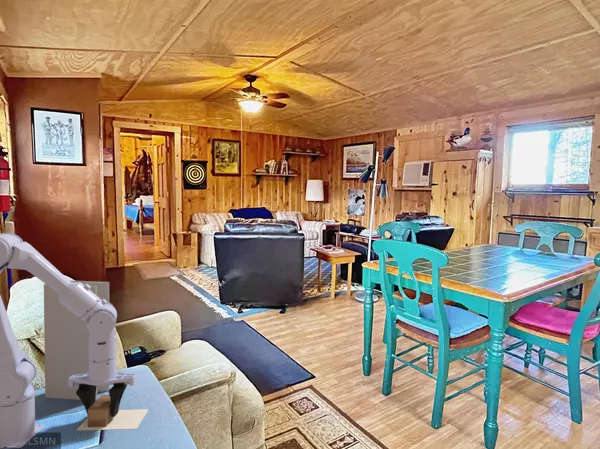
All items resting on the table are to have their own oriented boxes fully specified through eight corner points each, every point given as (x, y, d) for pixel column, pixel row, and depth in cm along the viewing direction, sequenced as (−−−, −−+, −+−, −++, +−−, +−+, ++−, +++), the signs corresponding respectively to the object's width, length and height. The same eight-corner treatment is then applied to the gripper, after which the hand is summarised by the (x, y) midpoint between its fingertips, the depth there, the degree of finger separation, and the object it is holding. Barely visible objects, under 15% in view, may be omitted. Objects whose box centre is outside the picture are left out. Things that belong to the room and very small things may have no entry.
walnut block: (106, 426, 83) (106, 409, 83) (87, 427, 83) (87, 409, 83) (118, 410, 90) (118, 394, 89) (101, 411, 89) (101, 395, 89)
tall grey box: (110, 392, 100) (109, 282, 98) (96, 402, 94) (95, 286, 93) (61, 388, 101) (59, 280, 100) (45, 399, 95) (43, 284, 94)
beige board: (76, 432, 82) (76, 430, 82) (93, 412, 90) (93, 410, 90) (136, 430, 82) (136, 428, 82) (148, 411, 90) (148, 409, 90)
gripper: (141, 350, 90) (141, 405, 90) (79, 351, 89) (79, 406, 89) (129, 362, 83) (130, 421, 83) (62, 363, 82) (63, 423, 82)
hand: (103, 414), depth 86 cm, fingers open, 5 cm apart
